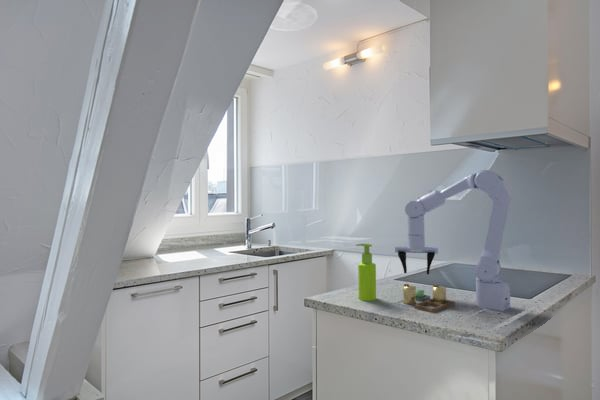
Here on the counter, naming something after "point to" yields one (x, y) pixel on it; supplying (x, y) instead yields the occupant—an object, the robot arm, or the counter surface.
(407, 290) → the cylinder
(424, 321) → the counter surface
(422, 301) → the button housing
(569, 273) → the counter surface
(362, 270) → the soap dispenser
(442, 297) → the cylinder
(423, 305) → the wooden tray
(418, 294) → the button
